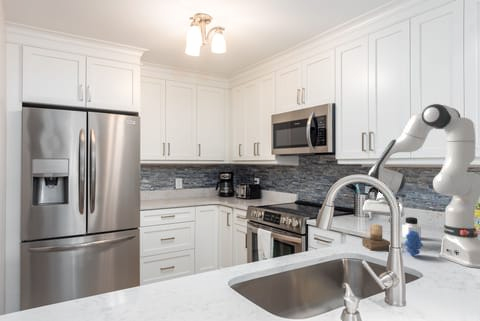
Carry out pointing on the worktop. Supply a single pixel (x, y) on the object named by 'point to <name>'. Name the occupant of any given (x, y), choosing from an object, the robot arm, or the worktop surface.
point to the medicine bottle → (410, 227)
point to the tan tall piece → (376, 232)
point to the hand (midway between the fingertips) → (380, 220)
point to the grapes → (413, 243)
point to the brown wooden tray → (376, 244)
